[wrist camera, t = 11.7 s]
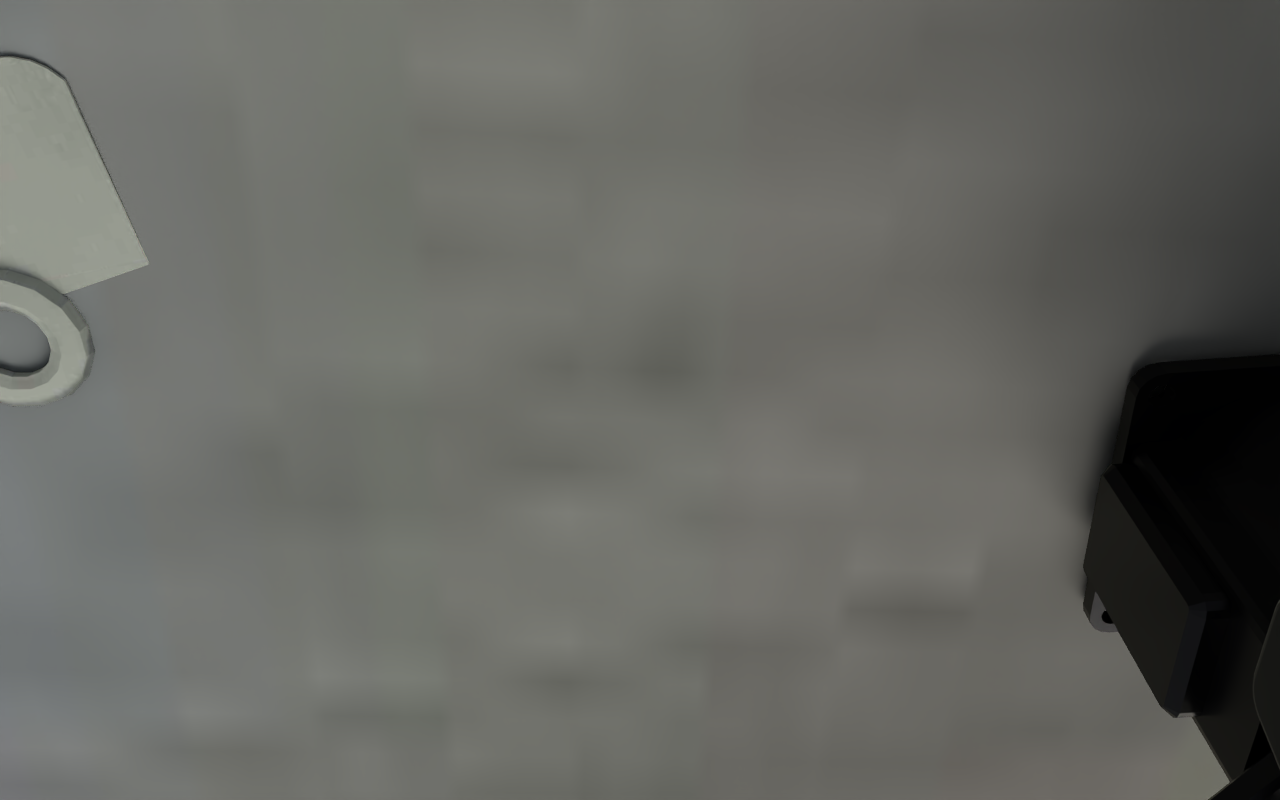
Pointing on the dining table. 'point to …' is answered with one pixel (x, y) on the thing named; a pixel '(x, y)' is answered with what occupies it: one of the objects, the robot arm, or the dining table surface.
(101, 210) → the mounting bracket
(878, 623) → the dining table surface
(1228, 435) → the robot arm
